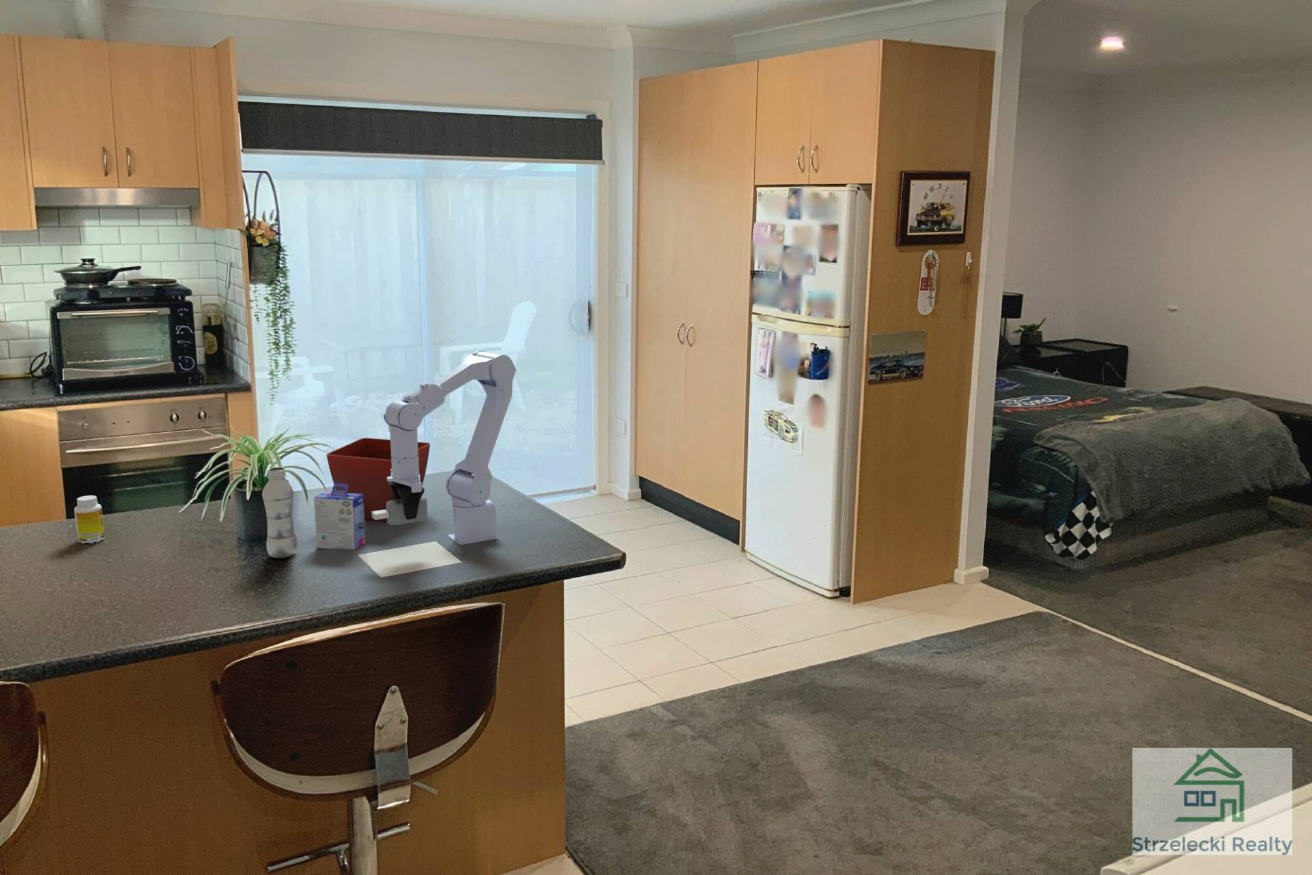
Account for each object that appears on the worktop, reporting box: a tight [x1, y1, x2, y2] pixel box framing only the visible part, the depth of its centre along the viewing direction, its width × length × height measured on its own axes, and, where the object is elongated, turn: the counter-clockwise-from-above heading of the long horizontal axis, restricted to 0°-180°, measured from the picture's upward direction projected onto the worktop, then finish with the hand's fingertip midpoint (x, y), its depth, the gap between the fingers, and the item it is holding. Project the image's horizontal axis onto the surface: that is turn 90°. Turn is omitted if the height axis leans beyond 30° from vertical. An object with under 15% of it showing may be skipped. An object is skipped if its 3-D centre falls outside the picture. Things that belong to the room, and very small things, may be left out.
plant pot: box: [326, 437, 431, 522], centre depth 263 cm, size 19×19×17 cm
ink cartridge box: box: [313, 483, 367, 550], centre depth 239 cm, size 10×6×14 cm, turn 78°
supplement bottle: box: [73, 495, 106, 544], centre depth 242 cm, size 6×6×10 cm
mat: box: [357, 540, 463, 578], centre depth 232 cm, size 18×16×1 cm
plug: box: [372, 496, 429, 526], centre depth 231 cm, size 12×4×4 cm, turn 122°
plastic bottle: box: [261, 466, 299, 559], centre depth 231 cm, size 6×7×20 cm
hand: (407, 515), depth 233 cm, fingers closed on plug, 4 cm apart
